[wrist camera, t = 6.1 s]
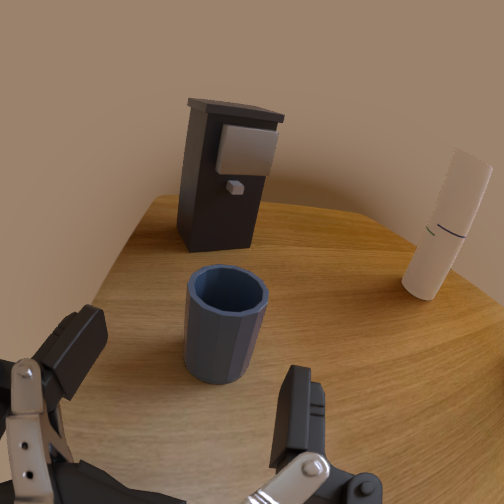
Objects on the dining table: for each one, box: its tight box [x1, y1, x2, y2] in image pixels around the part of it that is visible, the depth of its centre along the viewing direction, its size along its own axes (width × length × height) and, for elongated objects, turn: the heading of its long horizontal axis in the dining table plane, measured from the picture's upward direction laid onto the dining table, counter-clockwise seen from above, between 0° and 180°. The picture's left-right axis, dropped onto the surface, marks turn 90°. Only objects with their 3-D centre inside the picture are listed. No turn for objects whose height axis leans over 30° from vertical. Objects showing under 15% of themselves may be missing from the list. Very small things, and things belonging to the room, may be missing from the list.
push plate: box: [215, 124, 279, 176], centre depth 36 cm, size 2×7×6 cm, turn 116°
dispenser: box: [177, 98, 285, 253], centre depth 42 cm, size 11×11×21 cm
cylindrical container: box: [402, 148, 493, 301], centre depth 41 cm, size 7×7×25 cm
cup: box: [183, 264, 269, 384], centre depth 26 cm, size 6×6×9 cm
